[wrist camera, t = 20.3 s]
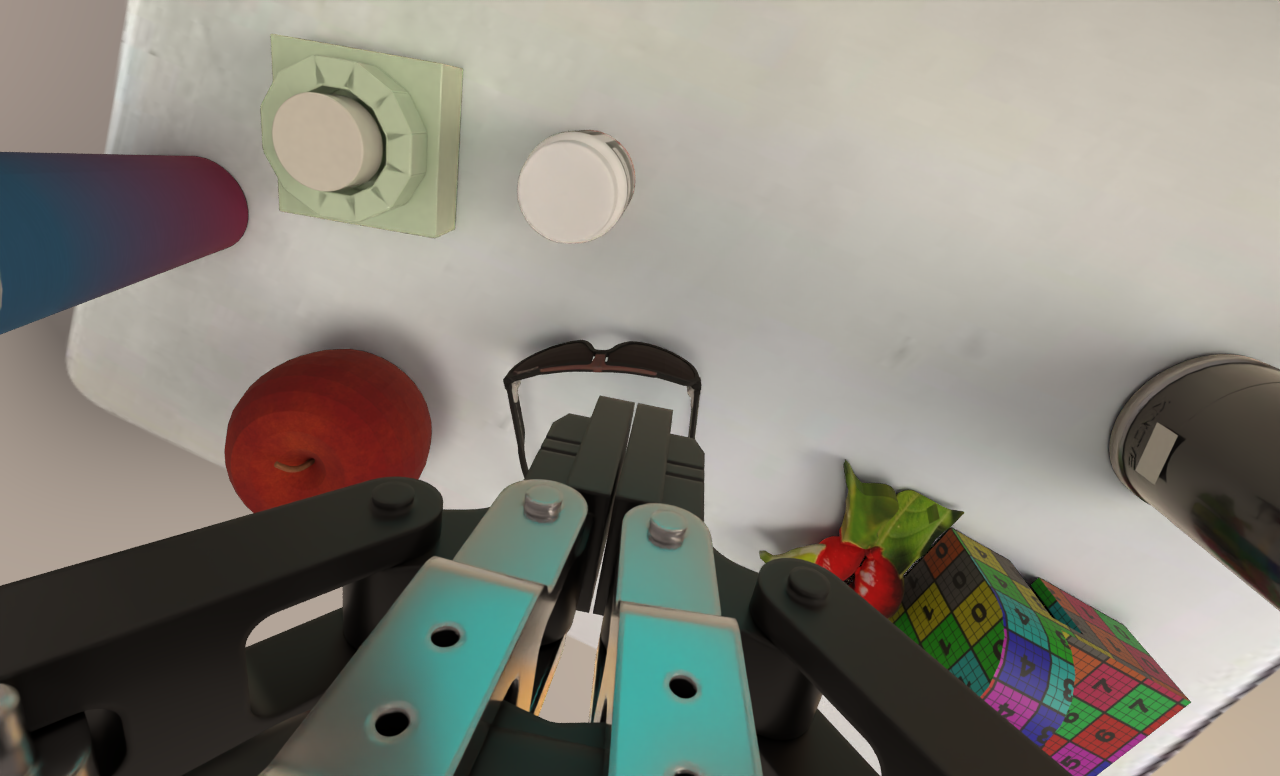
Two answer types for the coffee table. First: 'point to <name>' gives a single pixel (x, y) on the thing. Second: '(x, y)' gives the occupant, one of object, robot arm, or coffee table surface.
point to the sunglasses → (620, 360)
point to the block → (1036, 655)
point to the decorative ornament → (878, 540)
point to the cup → (105, 224)
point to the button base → (408, 122)
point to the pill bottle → (576, 186)
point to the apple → (325, 428)
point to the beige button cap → (327, 141)
